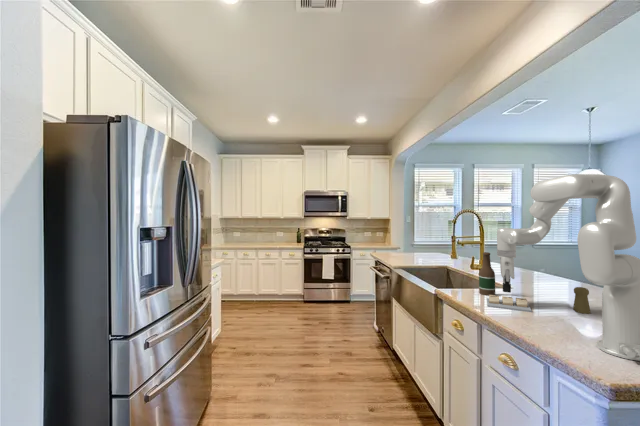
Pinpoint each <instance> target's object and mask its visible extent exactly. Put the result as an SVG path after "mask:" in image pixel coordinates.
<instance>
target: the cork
mask: <svg viewBox="0 0 640 426" xmlns="http://www.w3.org/2000/svg"><path fill="white" fill-rule="evenodd" d="M573 293H574V301H573V306H572V307H573V308H572V309H573V311H574V312H575V313H578V314H584V315H591V314H592V312H591V308H590V302H589V297H588V296H589V295H590V291H589V289H588V288H586V287H582V286H581V287H580V286H575V287H574V288H573Z"/></svg>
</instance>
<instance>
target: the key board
mask: <svg viewBox="0 0 640 426" xmlns="http://www.w3.org/2000/svg"><path fill="white" fill-rule="evenodd" d="M486 306H487V308H493V309H502V310H510V311H518V312H525V313H526V312H527V313H532V312H533V311H532V309H531V307H530V305H529V303H528V302H527V307H518V306H516V300H513V306H510V305H503V304H502V299H500V298H499V304H493V303H489V297H486Z"/></svg>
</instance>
